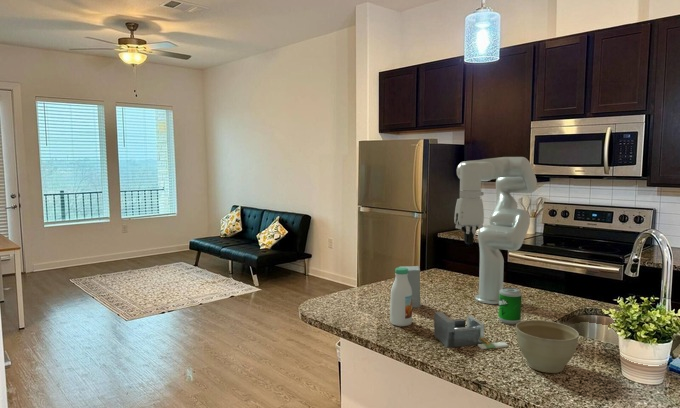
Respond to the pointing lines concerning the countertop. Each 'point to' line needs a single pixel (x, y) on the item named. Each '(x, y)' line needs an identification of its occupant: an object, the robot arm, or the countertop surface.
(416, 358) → the countertop surface
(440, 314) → the bracket
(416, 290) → the skincare box
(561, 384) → the countertop surface
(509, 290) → the soda can
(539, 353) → the planter bowl
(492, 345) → the strip
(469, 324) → the plunger
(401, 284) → the milk bottle
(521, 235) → the robot arm
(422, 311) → the countertop surface
